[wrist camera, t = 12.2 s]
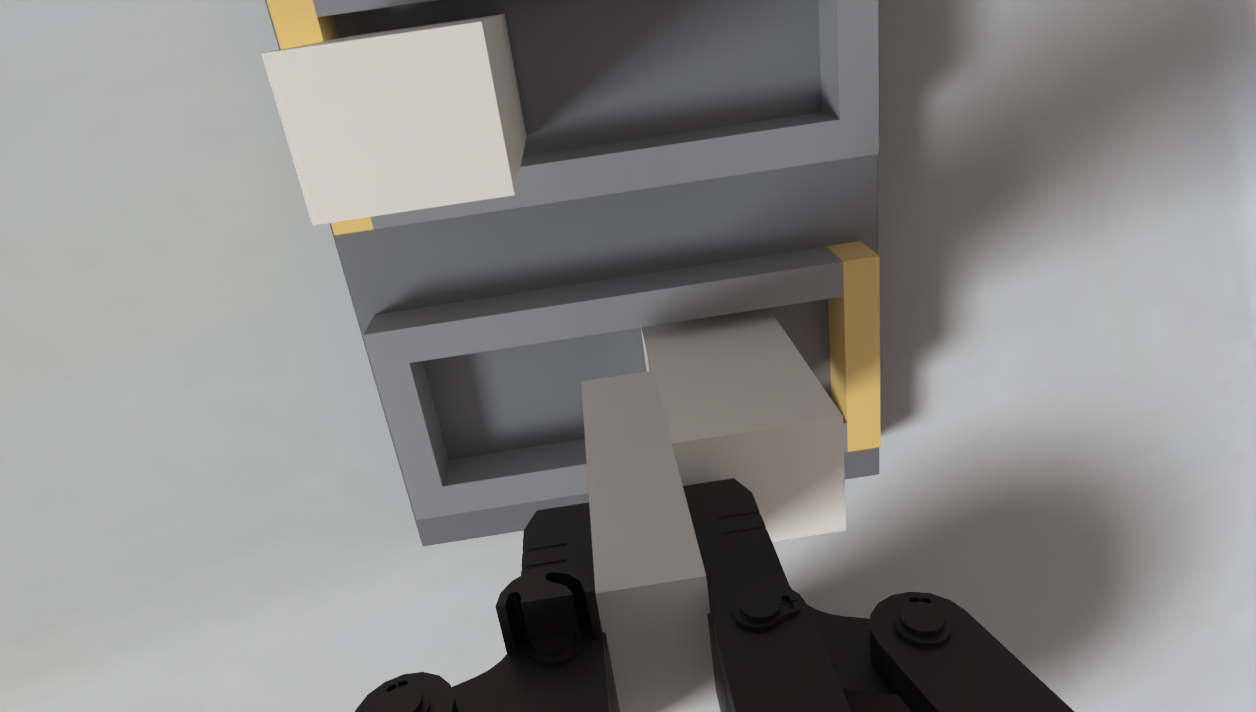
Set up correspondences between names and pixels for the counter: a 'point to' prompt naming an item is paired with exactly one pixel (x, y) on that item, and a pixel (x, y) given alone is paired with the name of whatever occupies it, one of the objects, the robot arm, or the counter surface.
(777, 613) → the robot arm
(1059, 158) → the counter surface
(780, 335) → the tab
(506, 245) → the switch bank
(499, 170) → the tab
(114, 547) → the counter surface
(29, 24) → the counter surface
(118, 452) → the counter surface
